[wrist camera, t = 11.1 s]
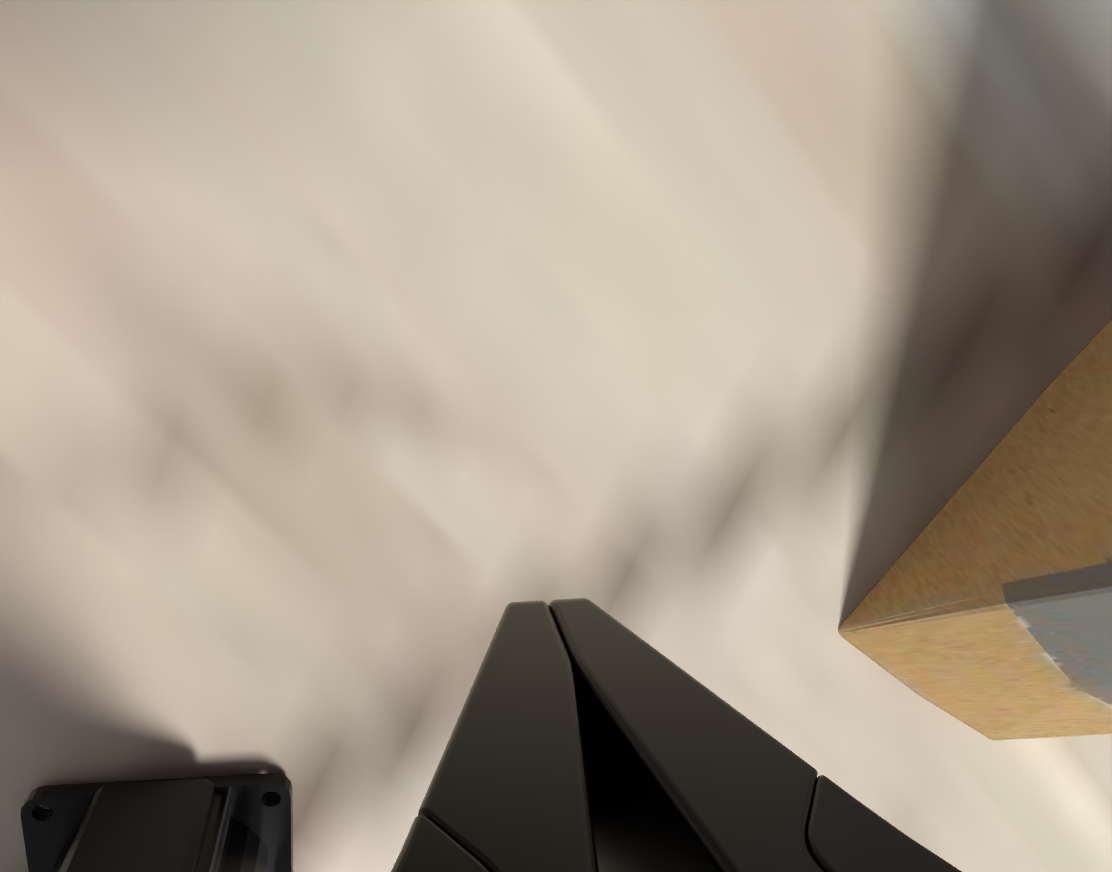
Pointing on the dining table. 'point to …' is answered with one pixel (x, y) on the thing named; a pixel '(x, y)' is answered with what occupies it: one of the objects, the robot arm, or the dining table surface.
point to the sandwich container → (1014, 576)
